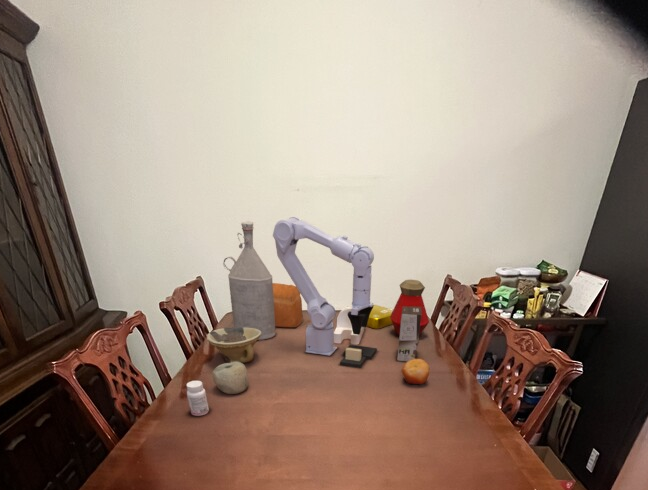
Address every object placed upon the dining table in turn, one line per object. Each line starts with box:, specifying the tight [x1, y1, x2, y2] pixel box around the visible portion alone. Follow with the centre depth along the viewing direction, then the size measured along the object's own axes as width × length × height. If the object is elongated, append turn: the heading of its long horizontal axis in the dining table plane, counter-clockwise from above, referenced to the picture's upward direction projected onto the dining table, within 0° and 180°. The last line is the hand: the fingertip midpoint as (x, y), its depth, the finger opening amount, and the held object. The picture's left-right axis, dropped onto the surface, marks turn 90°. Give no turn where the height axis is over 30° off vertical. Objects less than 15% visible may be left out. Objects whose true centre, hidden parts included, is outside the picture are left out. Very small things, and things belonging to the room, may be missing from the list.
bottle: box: [390, 279, 430, 337], centre depth 157 cm, size 16×14×20 cm
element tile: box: [366, 304, 393, 330], centre depth 174 cm, size 15×15×5 cm
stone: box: [211, 362, 249, 395], centre depth 121 cm, size 10×10×10 cm
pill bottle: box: [186, 380, 210, 417], centre depth 109 cm, size 5×5×8 cm
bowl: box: [206, 326, 261, 364], centre depth 139 cm, size 18×18×10 cm
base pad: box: [342, 344, 378, 360], centre depth 146 cm, size 10×8×1 cm
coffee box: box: [396, 306, 422, 362], centre depth 139 cm, size 9×6×16 cm
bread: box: [273, 282, 303, 328], centre depth 170 cm, size 14×26×16 cm, turn 79°
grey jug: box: [222, 220, 277, 341], centre depth 151 cm, size 13×17×40 cm
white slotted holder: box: [334, 305, 365, 346], centre depth 158 cm, size 10×18×11 cm, turn 169°
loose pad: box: [339, 347, 367, 369], centre depth 139 cm, size 7×9×5 cm
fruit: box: [401, 358, 430, 385], centre depth 126 cm, size 8×8×8 cm
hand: (359, 330), depth 140 cm, fingers open, 7 cm apart
